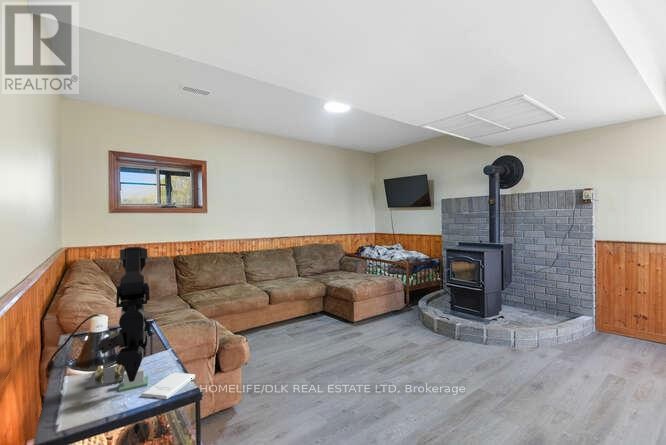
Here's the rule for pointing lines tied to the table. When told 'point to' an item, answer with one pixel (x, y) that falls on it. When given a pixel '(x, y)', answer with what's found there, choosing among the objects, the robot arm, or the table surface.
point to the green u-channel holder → (137, 383)
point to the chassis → (106, 376)
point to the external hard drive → (168, 385)
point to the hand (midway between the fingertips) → (134, 374)
